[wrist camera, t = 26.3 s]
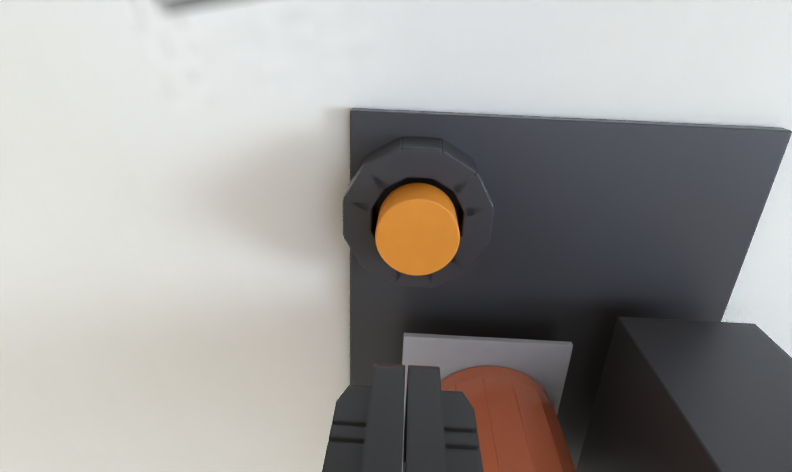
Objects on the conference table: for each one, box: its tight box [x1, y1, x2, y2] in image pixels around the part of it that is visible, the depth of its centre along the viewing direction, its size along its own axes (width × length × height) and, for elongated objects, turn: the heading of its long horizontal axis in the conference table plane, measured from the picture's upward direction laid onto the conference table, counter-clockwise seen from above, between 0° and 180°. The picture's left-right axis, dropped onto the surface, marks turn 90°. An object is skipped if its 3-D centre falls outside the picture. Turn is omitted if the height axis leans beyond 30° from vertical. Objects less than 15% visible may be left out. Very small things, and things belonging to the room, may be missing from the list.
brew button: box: [375, 183, 460, 275], centre depth 19 cm, size 3×3×2 cm
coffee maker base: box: [343, 108, 792, 470], centre depth 23 cm, size 18×20×3 cm
